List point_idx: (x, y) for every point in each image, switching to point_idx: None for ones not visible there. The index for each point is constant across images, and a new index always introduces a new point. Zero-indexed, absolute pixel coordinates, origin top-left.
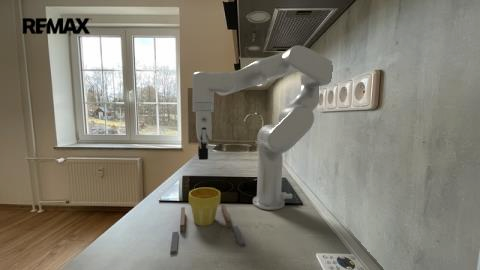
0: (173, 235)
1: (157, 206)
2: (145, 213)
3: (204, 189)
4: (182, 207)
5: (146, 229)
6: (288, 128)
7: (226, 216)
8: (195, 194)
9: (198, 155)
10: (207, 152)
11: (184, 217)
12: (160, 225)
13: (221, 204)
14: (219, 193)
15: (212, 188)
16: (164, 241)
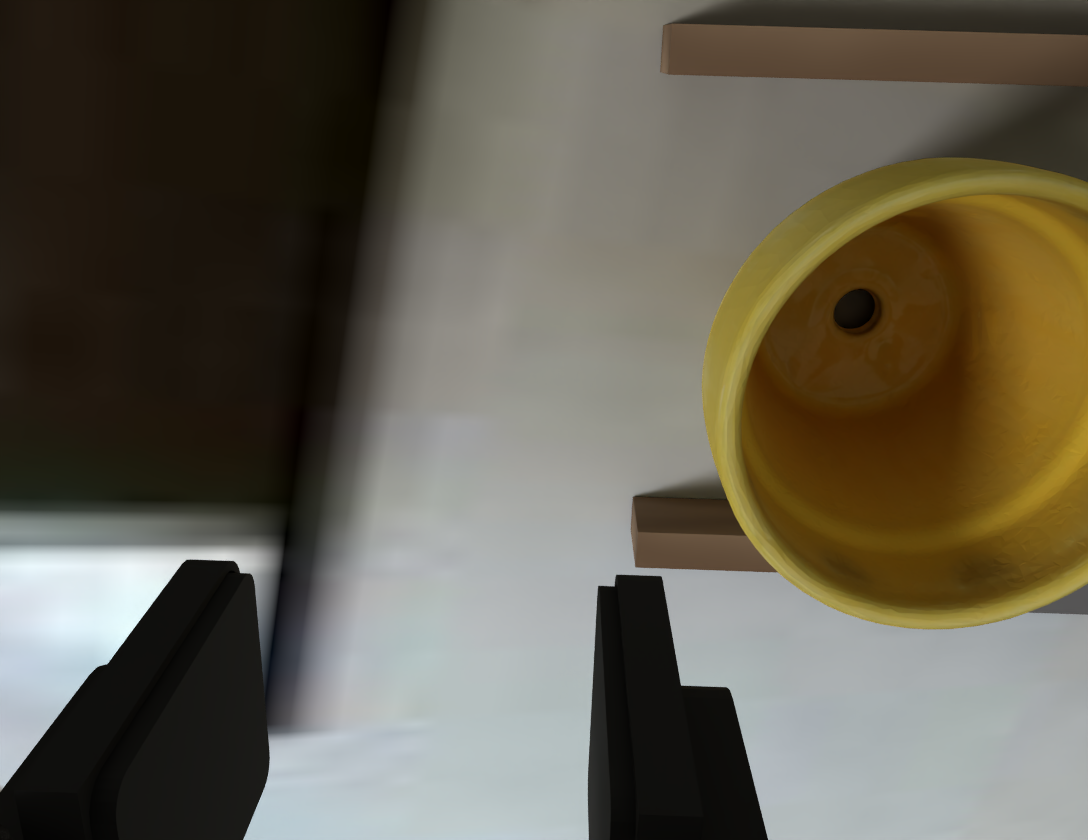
0: (1070, 604)
1: (394, 743)
2: (532, 821)
3: (742, 395)
4: (638, 555)
5: (835, 784)
6: None
7: (1040, 73)
8: (770, 505)
9: (249, 797)
10: (680, 717)
11: None
12: (803, 694)
13: (675, 74)
14: (1068, 194)
15: (799, 276)
16: (1076, 652)
